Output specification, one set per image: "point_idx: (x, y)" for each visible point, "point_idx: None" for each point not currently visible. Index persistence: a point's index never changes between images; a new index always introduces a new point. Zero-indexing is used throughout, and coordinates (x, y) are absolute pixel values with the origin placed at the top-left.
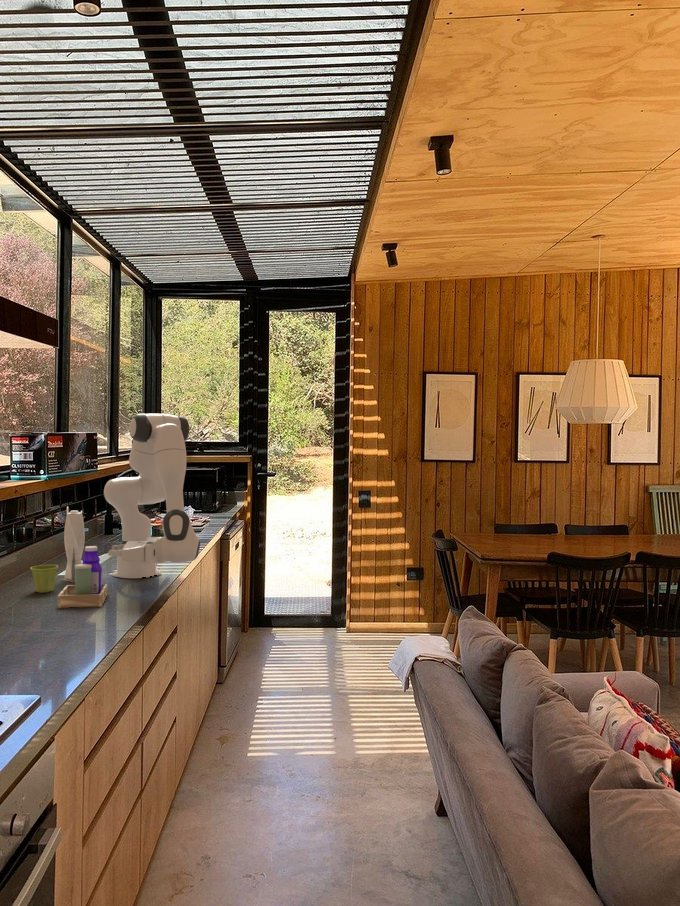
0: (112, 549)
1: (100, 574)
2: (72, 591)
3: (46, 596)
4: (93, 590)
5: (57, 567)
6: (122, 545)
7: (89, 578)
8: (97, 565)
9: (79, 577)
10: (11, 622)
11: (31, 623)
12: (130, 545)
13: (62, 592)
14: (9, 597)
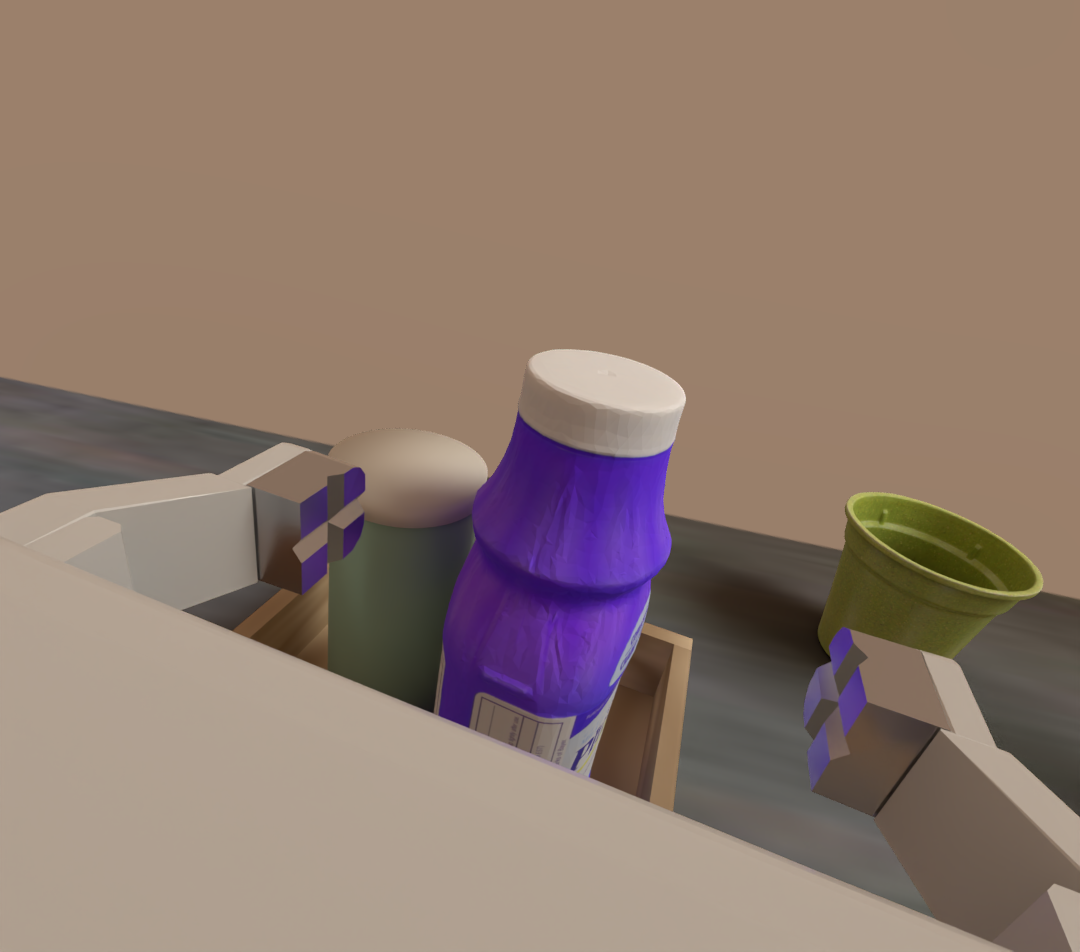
0: (818, 685)
1: (455, 703)
2: (657, 695)
3: (711, 626)
4: None
5: (944, 581)
6: (1038, 894)
7: (336, 584)
8: (470, 592)
9: None
10: (230, 431)
11: (136, 452)
12: (153, 906)
13: None
14: (720, 529)
